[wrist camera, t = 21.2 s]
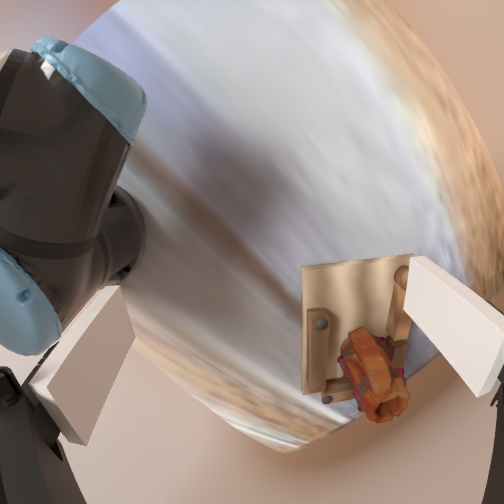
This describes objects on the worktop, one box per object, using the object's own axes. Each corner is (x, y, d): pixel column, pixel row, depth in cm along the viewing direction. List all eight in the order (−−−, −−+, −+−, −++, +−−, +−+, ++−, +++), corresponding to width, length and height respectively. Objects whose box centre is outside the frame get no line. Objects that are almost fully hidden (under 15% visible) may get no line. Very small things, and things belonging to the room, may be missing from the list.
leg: (395, 265, 40) (407, 276, 36) (411, 264, 40) (424, 275, 36) (383, 329, 43) (393, 342, 40) (399, 326, 43) (409, 339, 40)
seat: (301, 389, 49) (306, 410, 44) (300, 266, 41) (308, 282, 36) (392, 371, 49) (402, 389, 44) (412, 253, 41) (430, 266, 36)
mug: (384, 354, 45) (420, 415, 31) (342, 374, 46) (368, 441, 32) (365, 288, 41) (414, 348, 27) (315, 311, 42) (345, 383, 27)
